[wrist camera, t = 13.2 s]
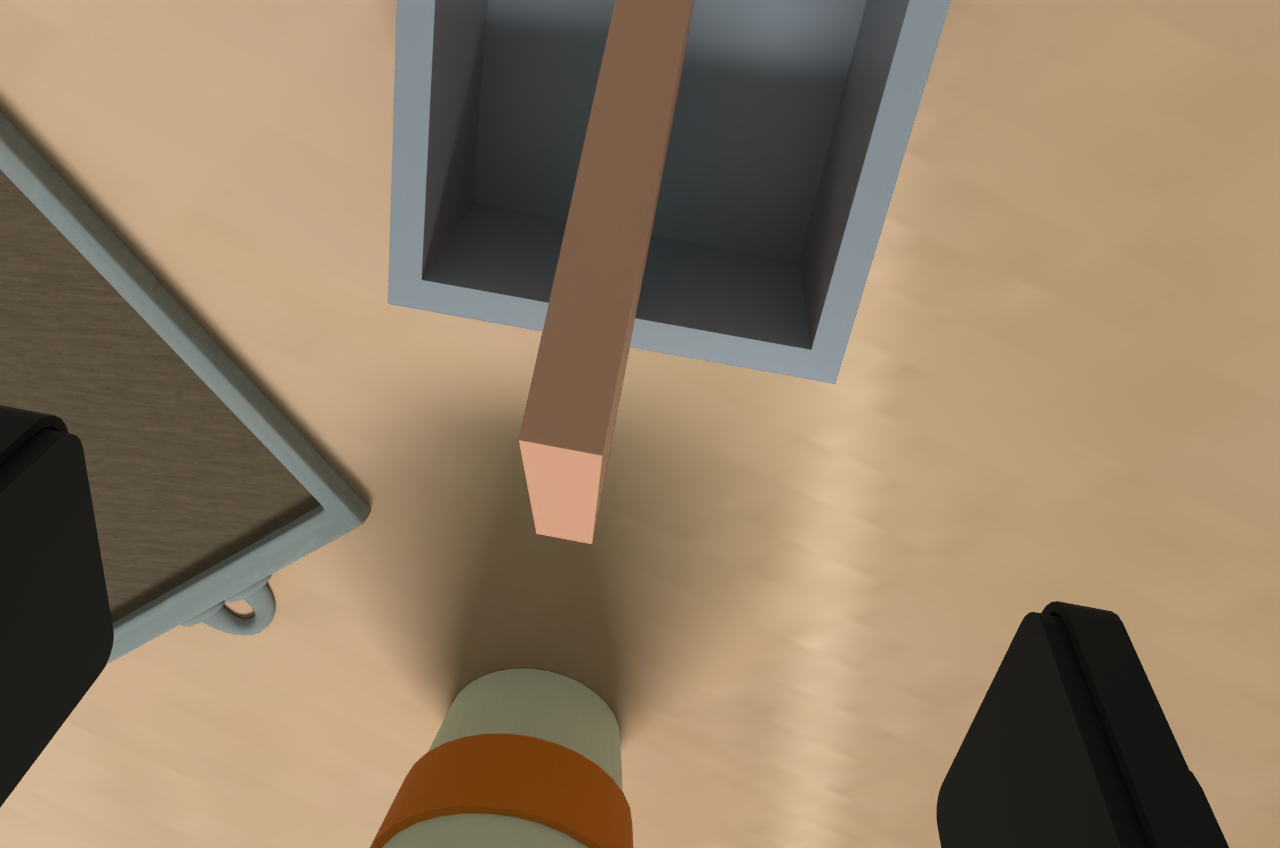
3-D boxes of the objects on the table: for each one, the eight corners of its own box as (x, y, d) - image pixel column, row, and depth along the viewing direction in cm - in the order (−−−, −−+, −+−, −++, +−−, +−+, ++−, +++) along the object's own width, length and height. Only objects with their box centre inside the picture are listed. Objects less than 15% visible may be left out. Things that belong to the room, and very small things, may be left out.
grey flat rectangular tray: (-172, -46, 34) (404, 565, 46) (-137, -52, 35) (413, 543, 47) (-440, 240, 40) (124, 710, 52) (-402, 226, 42) (140, 687, 54)
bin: (931, -138, 31) (987, -124, 24) (816, 281, 38) (835, 384, 31) (477, -223, 31) (404, -233, 24) (450, 215, 38) (387, 303, 31)
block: (721, -162, 23) (602, 455, 19) (678, 94, 33) (591, 544, 29) (653, -175, 23) (518, 439, 19) (629, 85, 33) (536, 533, 29)
